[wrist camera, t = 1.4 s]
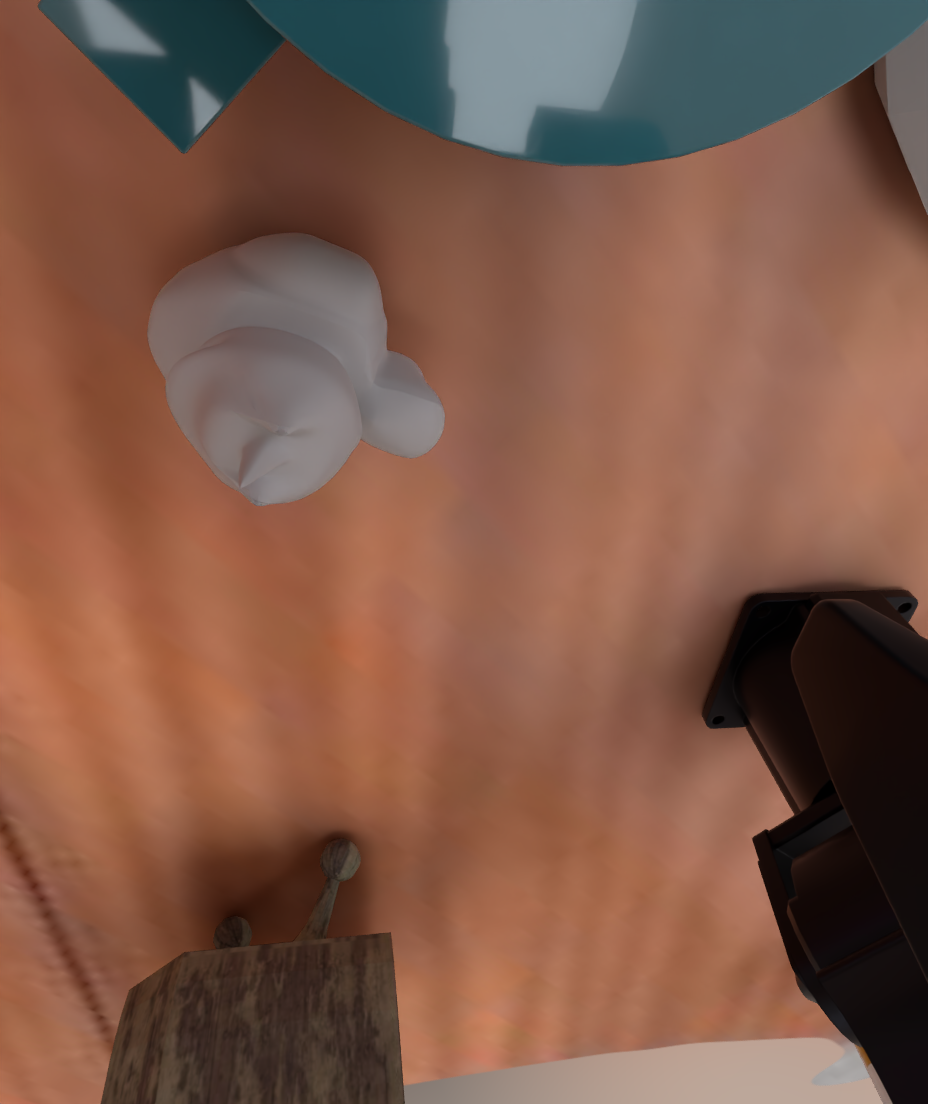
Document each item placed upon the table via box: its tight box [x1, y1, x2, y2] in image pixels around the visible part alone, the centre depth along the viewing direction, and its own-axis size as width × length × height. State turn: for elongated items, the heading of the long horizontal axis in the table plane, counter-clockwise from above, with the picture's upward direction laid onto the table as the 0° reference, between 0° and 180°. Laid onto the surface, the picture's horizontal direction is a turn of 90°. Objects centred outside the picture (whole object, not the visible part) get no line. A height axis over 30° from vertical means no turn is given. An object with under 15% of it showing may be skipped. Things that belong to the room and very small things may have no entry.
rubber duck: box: [147, 232, 445, 506], centre depth 16 cm, size 5×7×8 cm
